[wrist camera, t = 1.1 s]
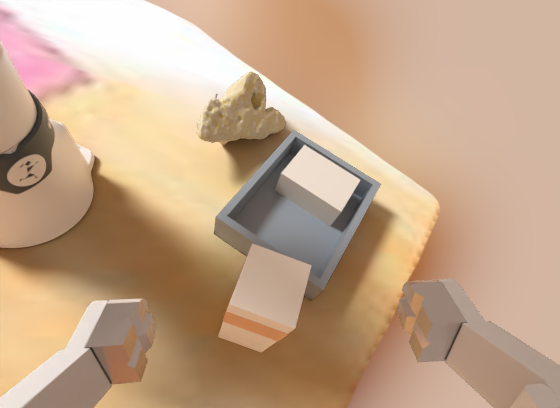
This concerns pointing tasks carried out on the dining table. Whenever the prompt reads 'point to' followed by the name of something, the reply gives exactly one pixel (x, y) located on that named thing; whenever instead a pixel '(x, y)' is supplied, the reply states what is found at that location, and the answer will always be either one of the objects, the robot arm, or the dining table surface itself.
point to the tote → (293, 216)
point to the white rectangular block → (317, 185)
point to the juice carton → (265, 299)
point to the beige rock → (240, 113)
